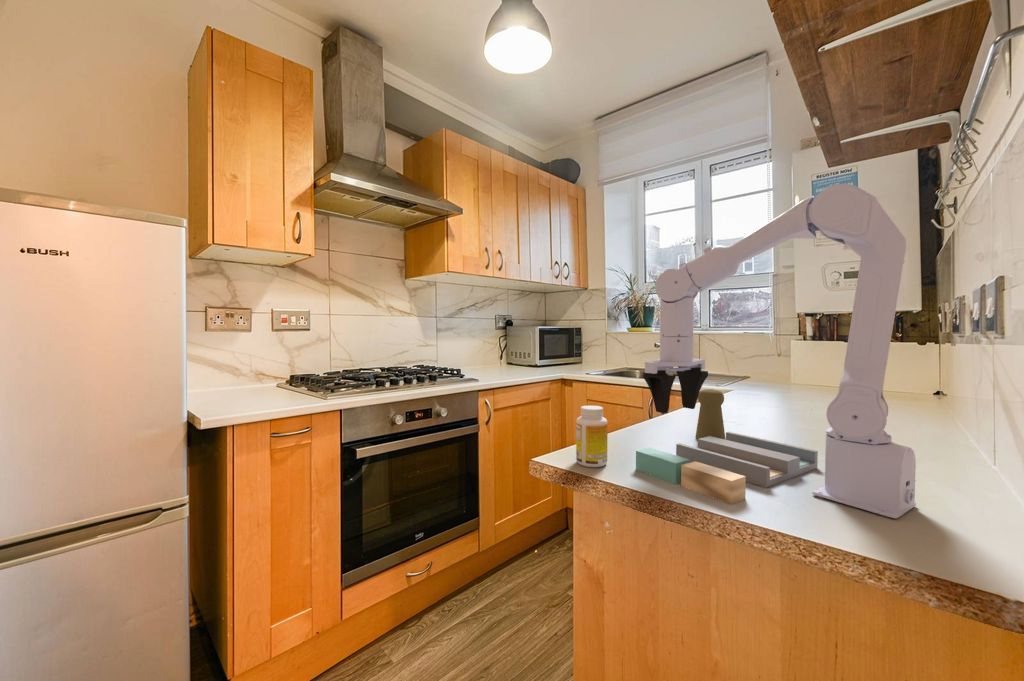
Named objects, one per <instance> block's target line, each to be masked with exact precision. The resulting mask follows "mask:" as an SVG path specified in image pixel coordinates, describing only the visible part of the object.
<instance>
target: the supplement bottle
mask: <svg viewBox="0 0 1024 681" xmlns="http://www.w3.org/2000/svg"><path fill="white" fill-rule="evenodd" d="M575 421H576V422H575V426H576V427H575V428H576V429H575V431H576V432H575V433H576V434H575V436H576V437H575V439H576V440H575V441H576V442H575V444H576V446H575V448H576V450H575V454H576V456H575V457H576V458H575V460H576V463H578V465H581V466H582V467H586V468H602V467H604V466H606V465H607V463H608V419H607V418H606V417H604V407H603V406H600V405H591V404H590V405H583V406H582V405H581V406H580V416H579V417H577V418H576V420H575Z"/></svg>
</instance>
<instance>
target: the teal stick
mask: <svg viewBox="0 0 1024 681" xmlns="http://www.w3.org/2000/svg"><path fill="white" fill-rule="evenodd" d="M687 463H690V460H689V459H686V458H683V457H679V456H676V454H672V453H669V452H665V451H663V450H660V449H656V448H653V447H646V448H642V449H637V450H635V471H638V470H639V472H641V471H642V472H641V473H644V472H645V473H644V474H647V475H649V474H651V475H650V476H652V475H653V476H652V477H655V476H656V477H655V478H658V479H660V478H661V479H660V480H664V481H666V482H668V483H669V482H670V483H671V482H672V483H671V484H674V483H675V484H674V485H677V484H676V483H678V484H680V483H679V482H681V465H684V464H687Z"/></svg>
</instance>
